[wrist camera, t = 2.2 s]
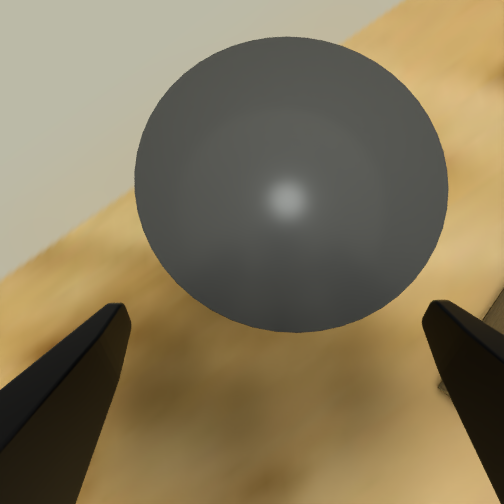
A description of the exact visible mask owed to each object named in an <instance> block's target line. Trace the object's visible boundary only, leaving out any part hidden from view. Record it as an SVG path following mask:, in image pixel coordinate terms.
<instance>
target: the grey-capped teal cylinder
mask: <svg viewBox="0 0 504 504" xmlns="http://www.w3.org/2000/svg"><path fill="white" fill-rule="evenodd" d="M135 197H136V204H137V210H138V214H139V217H140V221H141V224H142V228H143V231H144V233H145V235H146V237H147V240H148V242H149V244H150V246H151V248H152V250H153V252H154V253H155V255H156V256H157V258H158V260H159V261H160V263H161V264H162V266H163V267H164V268H165V270H166V271H167V272H168V273H169V274H170V276H171V277H172V278H173V279H174V280H175V281H176V283H177V284H178V285H180V286H181V287H182V288H183V289H184V290H185V291H186V292H187V293H188V294H190V295H191V296H192V297H193V298H194V299H196V300H197V301H199V302H200V303H202V304H203V305H205V306H206V307H208V308H209V309H211V310H212V311H214V312H216V313H218V314H220V315H222V316H224V317H226V318H228V319H230V320H233V321H236V322H239V323H242V324H245V325H248V326H251V327H254V328H259V329H265V330H270V331H275V332H293V333H301V332H314V331H322V330H327V329H331V328H336V327H340V326H344V325H346V324H349V323H352V322H355V321H357V320H360V319H363V318H364V317H366V316H368V315H370V314H372V313H374V312H376V311H377V310H379V309H381V308H383V307H384V306H385V305H387V304H388V303H389V302H391V301H392V300H393V299H395V298H396V297H397V296H399V295H400V294H401V293H402V292H403V291H404V290H405V289H406V288H407V287H408V286H409V285H410V284H411V283H412V282H413V281H414V280H415V278H416V277H417V276H418V274H419V273H420V272H421V270H422V269H423V268H424V266H425V265H426V263H427V262H428V260H429V258H430V256H431V254H432V253H433V251H434V249H435V247H436V245H437V242H438V239H439V237H440V234H441V231H442V229H443V224H444V220H445V215H446V211H447V201H448V176H447V167H446V162H445V157H444V152H443V149H442V146H441V143H440V141H439V138H438V135H437V132H436V130H435V128H434V126H433V124H432V122H431V120H430V118H429V116H428V115H427V113H426V112H425V110H424V109H423V107H422V106H421V104H420V103H419V101H418V100H417V99H416V98H415V97H414V95H413V94H412V93H411V92H410V91H409V90H408V88H407V87H406V86H405V85H404V84H403V83H401V82H400V81H399V80H398V79H397V78H396V77H395V76H394V75H393V74H392V73H390V72H389V71H387V70H386V69H385V68H383V67H382V66H380V65H379V64H378V63H376V62H374V61H373V60H371V59H369V58H367V57H365V56H364V55H362V54H360V53H358V52H355V51H353V50H350V49H348V48H346V47H343V46H340V45H337V44H333V43H330V42H326V41H322V40H315V39H310V38H301V37H273V38H264V39H259V40H252V41H248V42H245V43H241V44H238V45H235V46H231V47H229V48H227V49H224V50H222V51H220V52H217V53H215V54H213V55H211V56H210V57H208V58H206V59H204V60H203V61H201V62H199V63H198V64H197V65H195V66H194V67H193V68H191V69H190V70H189V71H187V72H186V73H185V74H183V75H182V77H180V79H178V80H177V81H176V82H175V83H174V84H173V85H172V86H171V87H170V88H169V90H168V91H167V92H166V93H165V95H164V96H163V97H162V98H161V100H160V101H159V102H158V104H157V106H156V108H155V109H154V111H153V112H152V114H151V116H150V118H149V120H148V122H147V124H146V127H145V129H144V131H143V134H142V137H141V141H140V144H139V148H138V151H137V157H136V166H135Z"/></svg>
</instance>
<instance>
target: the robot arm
mask: <svg viewBox="0 0 504 504" xmlns="http://www.w3.org/2000/svg"><path fill="white" fill-rule="evenodd" d="M422 327H423V330H424V332H425V335H426V338H427V341H428V344H429V346H430V349H431V352H432V355H433V358H434V360H435V363H436V366H437V369H438V371H439V374H440V376H441V379H442V381H443V383H444V385H445V387H446V389H447V391H448V394H449V396H450V398H451V400H452V402H453V404H454V406H455V408H456V410H457V412H458V415H459V417H460V419H461V421H462V423H463V425H464V427H465V429H466V431H467V434H468V436H469V438H470V440H471V442H472V444H473V446H474V448H475V450H476V452H477V455H478V457H479V459H480V461H481V463H482V465H483V467H484V469H485V471H486V473H487V476H488V478H489V480H490V482H491V484H492V486H493V488H494V490H495V492H496V495H497V497H498V499H499V501H500V503H501V504H504V335H503V334H502V333H500V332H499V331H497V330H496V329H494V328H492V327H491V326H489V325H488V324H486V323H484V322H483V321H481V320H480V319H478V318H476V317H475V316H473V315H472V314H470V313H468V312H467V311H465V310H464V309H462V308H460V307H459V306H457V305H456V304H454V303H452V302H451V301H449V300H433V301H432V302H431V303H430V304H429V306H428V308H427V310H426V312H425V314H424V316H423V318H422ZM130 332H131V320H130V317H129V315H128V312H127V309H126V307H125V305H124V304H123V303H108V304H107V305H105V306H104V307H103V308H101V309H100V310H99V311H98V312H96V313H95V314H94V315H93V316H91V317H90V318H89V319H88V320H87V321H85V322H84V323H83V324H82V325H80V326H79V327H78V328H77V329H75V330H74V331H73V332H72V333H70V334H69V335H68V336H67V337H65V338H64V339H63V340H62V341H60V342H59V343H58V344H57V345H55V346H54V347H53V348H52V349H50V350H49V351H48V352H47V353H45V354H44V355H43V356H42V357H40V358H39V359H38V360H37V361H36V362H34V363H33V364H32V365H31V366H29V367H28V368H27V369H26V370H24V371H23V372H22V373H21V374H19V375H18V376H17V377H16V378H14V379H13V380H12V381H11V382H9V383H8V384H7V385H6V386H4V387H3V388H2V389H1V390H0V504H76V501H77V498H78V495H79V492H80V490H81V487H82V484H83V481H84V478H85V475H86V472H87V470H88V467H89V464H90V461H91V458H92V455H93V453H94V450H95V447H96V444H97V441H98V438H99V436H100V433H101V430H102V427H103V424H104V421H105V419H106V416H107V413H108V410H109V407H110V404H111V402H112V399H113V396H114V393H115V390H116V387H117V384H118V381H119V378H120V374H121V370H122V366H123V362H124V357H125V353H126V349H127V345H128V340H129V336H130Z"/></svg>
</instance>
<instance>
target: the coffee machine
mask: <svg viewBox="0 0 504 504" xmlns="http://www.w3.org/2000/svg"><path fill="white" fill-rule="evenodd" d="M483 322H484V323H486V324H488V325H489V326H491V327H492V328H494V329H496V330H497V331H499V332H500V333H502V334H503V335H504V289H503V291H502V292H501V294H500V295H499V297H498V298H497V300H496V301H495V303H494V304H493V306H492V307H491V309H490V310H489V312H488V313H487V315H486V316H485V318H484V319H483ZM438 388H439V389H440V390H441V391H443V392H444V393H445V394H446V395H448V396H449V394H448V391H447V389H446V387H445V385H444V383H443V381H442V382H441V384H440V385H439V387H438ZM449 397H450V396H449Z"/></svg>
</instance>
